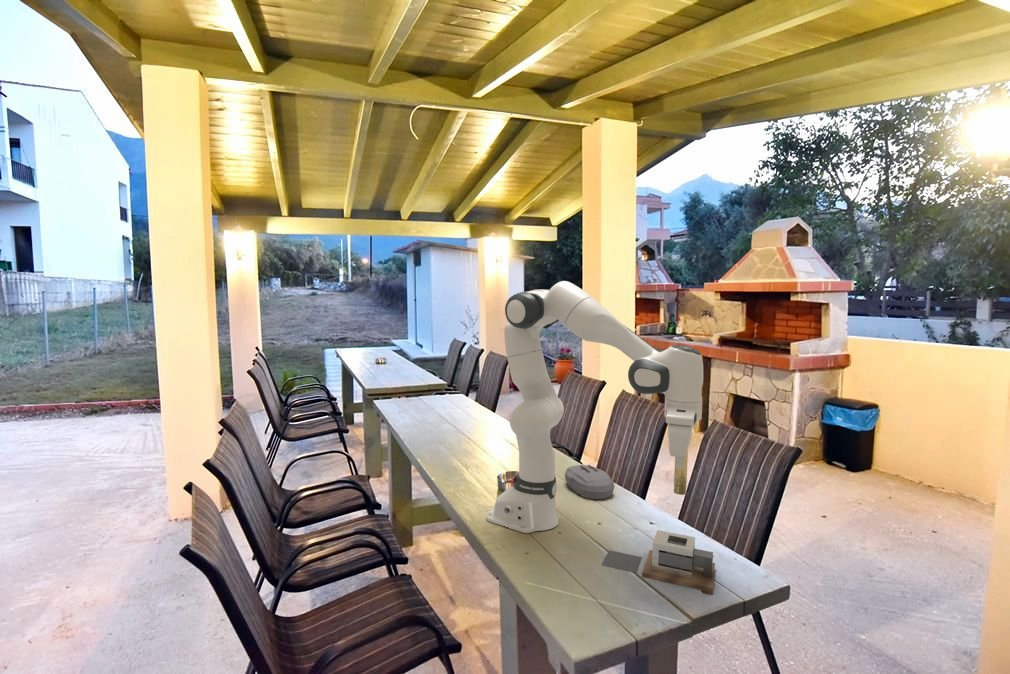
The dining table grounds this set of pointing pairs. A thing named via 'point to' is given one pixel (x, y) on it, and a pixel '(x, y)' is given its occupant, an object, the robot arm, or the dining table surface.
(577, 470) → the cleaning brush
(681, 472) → the brass pin
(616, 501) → the dining table surface
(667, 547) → the block
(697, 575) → the walnut base
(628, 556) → the rubber mat
